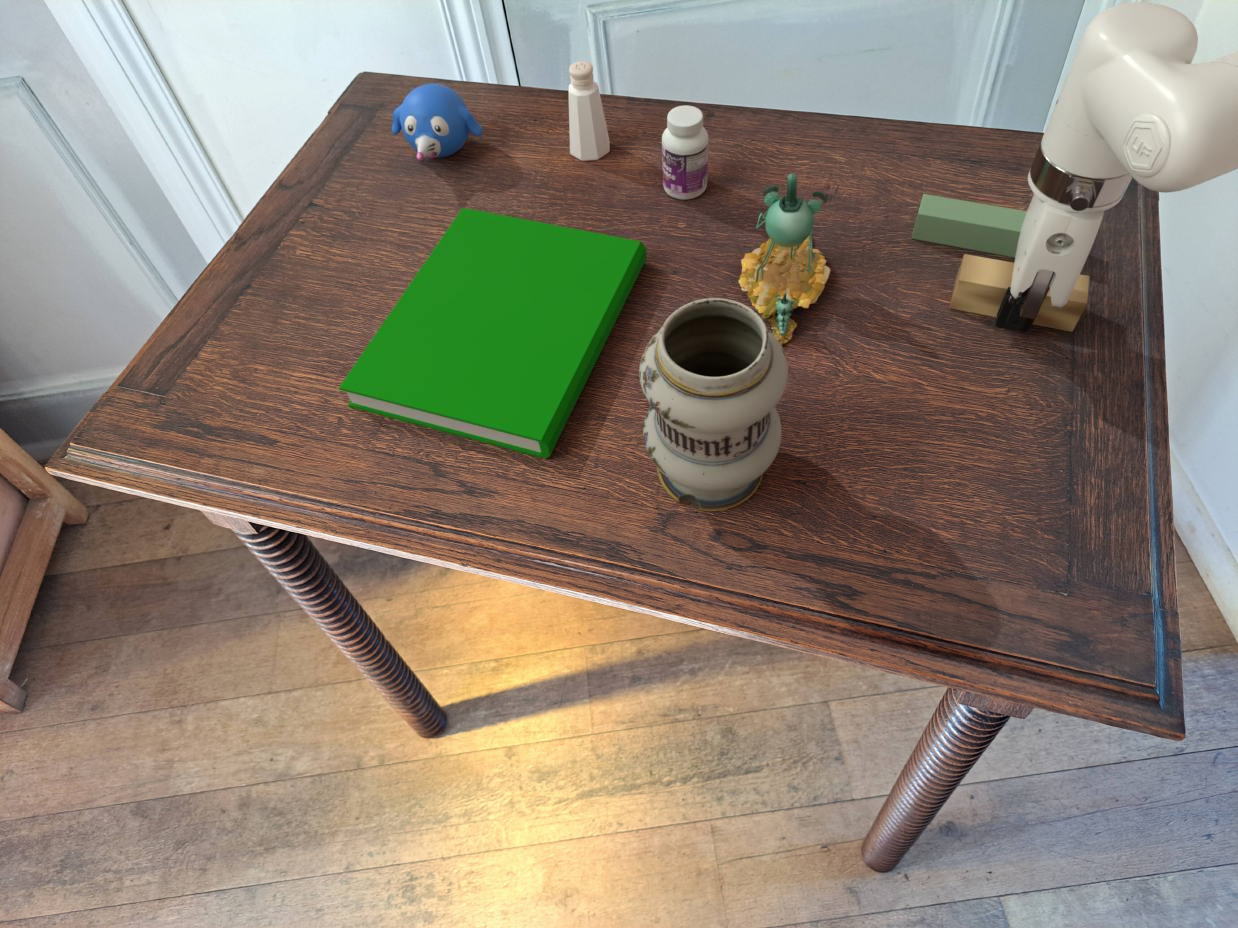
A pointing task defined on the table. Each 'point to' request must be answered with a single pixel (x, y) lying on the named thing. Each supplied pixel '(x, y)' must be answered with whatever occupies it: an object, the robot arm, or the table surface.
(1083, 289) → the brass block
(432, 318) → the book
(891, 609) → the table surface
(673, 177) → the pill bottle
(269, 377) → the table surface
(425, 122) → the blue mole toy
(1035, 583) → the table surface
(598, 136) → the salt shaker
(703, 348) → the apothecary jar
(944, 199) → the green bar
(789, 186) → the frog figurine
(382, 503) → the table surface
